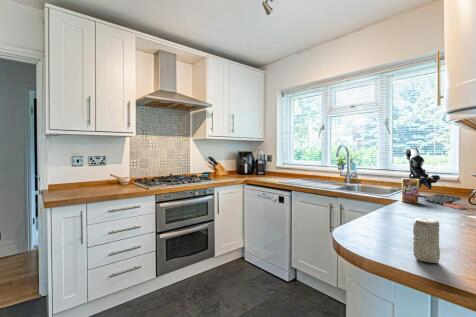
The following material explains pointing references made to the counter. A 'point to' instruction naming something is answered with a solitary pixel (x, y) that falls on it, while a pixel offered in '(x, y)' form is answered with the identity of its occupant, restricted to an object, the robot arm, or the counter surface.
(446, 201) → the domino
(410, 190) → the candy box
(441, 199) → the domino
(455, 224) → the counter surface
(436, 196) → the domino
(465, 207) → the end domino
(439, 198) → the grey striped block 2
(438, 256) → the carving
